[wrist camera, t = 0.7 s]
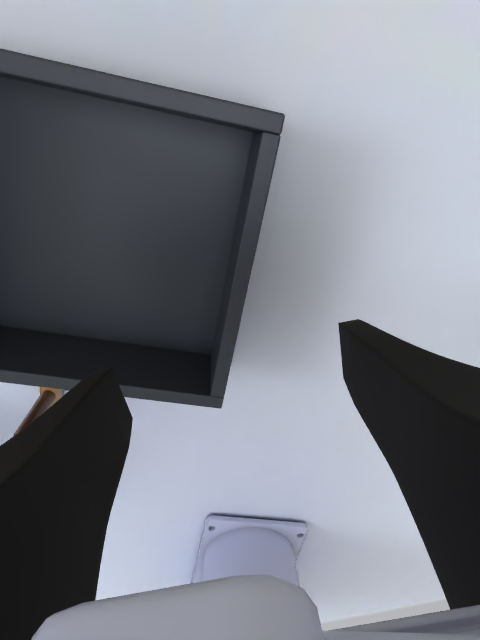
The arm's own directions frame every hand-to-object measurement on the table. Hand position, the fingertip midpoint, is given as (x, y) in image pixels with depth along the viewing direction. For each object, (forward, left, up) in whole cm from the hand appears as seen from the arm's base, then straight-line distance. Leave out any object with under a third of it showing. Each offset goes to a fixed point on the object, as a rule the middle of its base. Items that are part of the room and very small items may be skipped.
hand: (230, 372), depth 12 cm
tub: (+1, +6, -10) cm, 12 cm away
